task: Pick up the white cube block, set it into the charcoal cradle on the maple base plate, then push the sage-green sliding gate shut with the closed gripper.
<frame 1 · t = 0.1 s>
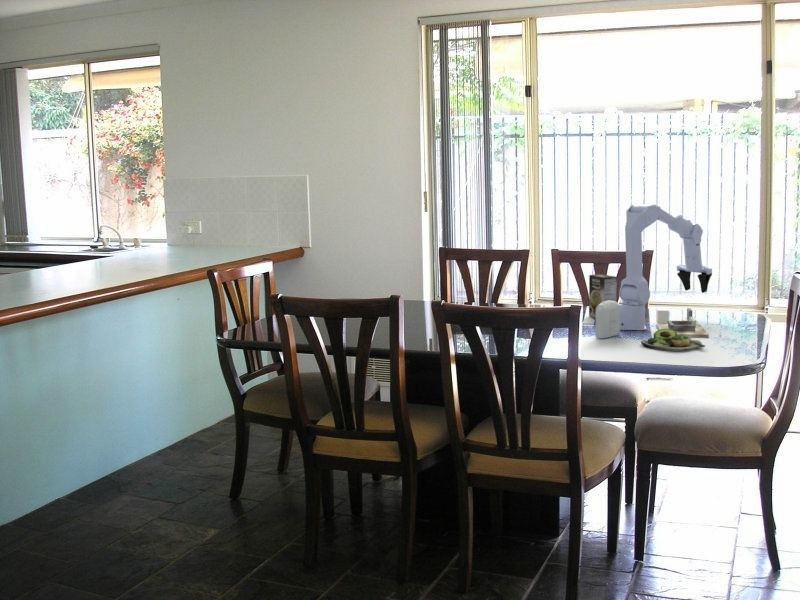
hand: (695, 290, 324), 11 cm above the table, tool pointing down, fingers open, 7 cm apart
coffee box: (602, 317, 333), on the table
beige board: (682, 331, 302), on the table
white cube block: (662, 323, 319), on the table
gate: (691, 317, 311), point 3 cm above the table, slide at 8.0 cm
salad plate: (670, 347, 281), on the table
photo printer: (607, 337, 297), on the table
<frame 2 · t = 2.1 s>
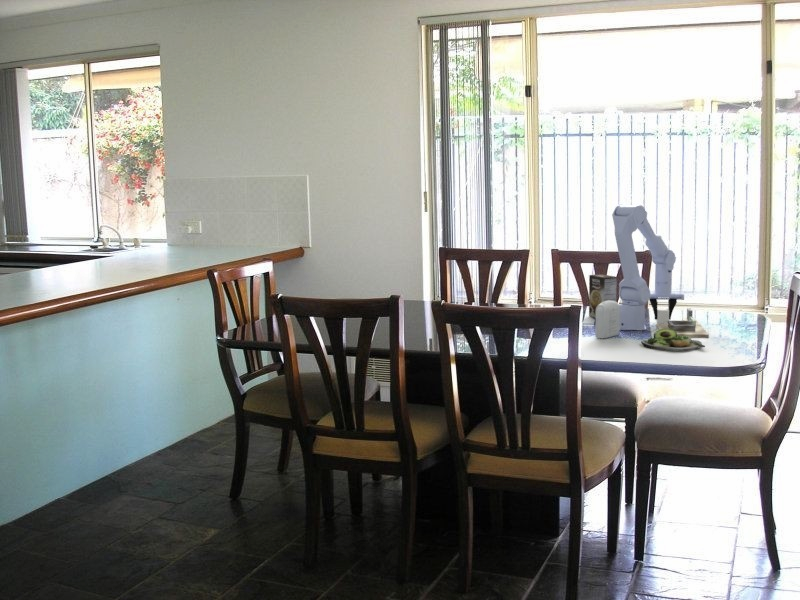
hand: (662, 319, 319), 1 cm above the table, tool pointing down, fingers closed on white cube block, 4 cm apart
white cube block: (662, 323, 319), on the table, touching gripper
everything else where it was.
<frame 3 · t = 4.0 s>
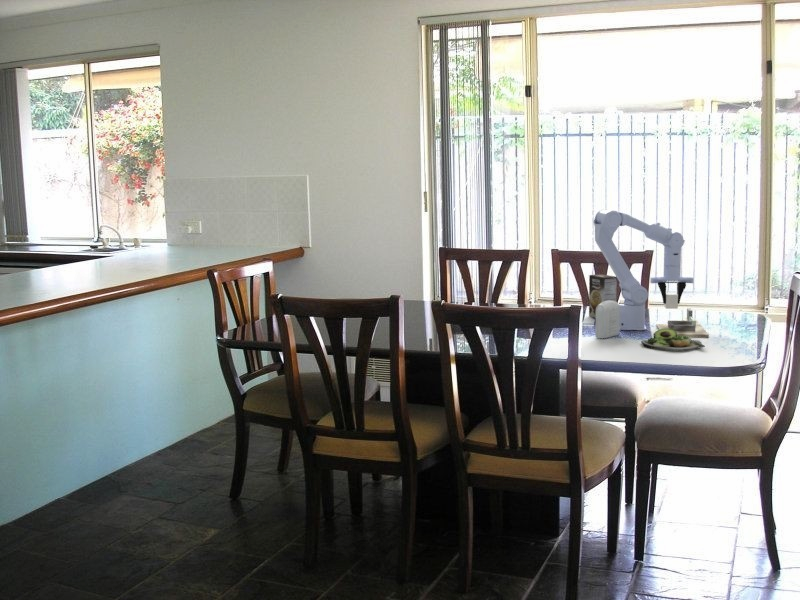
hand: (671, 303, 311), 8 cm above the table, tool pointing down, fingers closed on white cube block, 4 cm apart
white cube block: (670, 307, 311), point 7 cm above the table, touching gripper
everything else where it was.
when the fingers open (4 cm above the table, at t = 5.8 s): white cube block drops 1 cm, resting on beige board.
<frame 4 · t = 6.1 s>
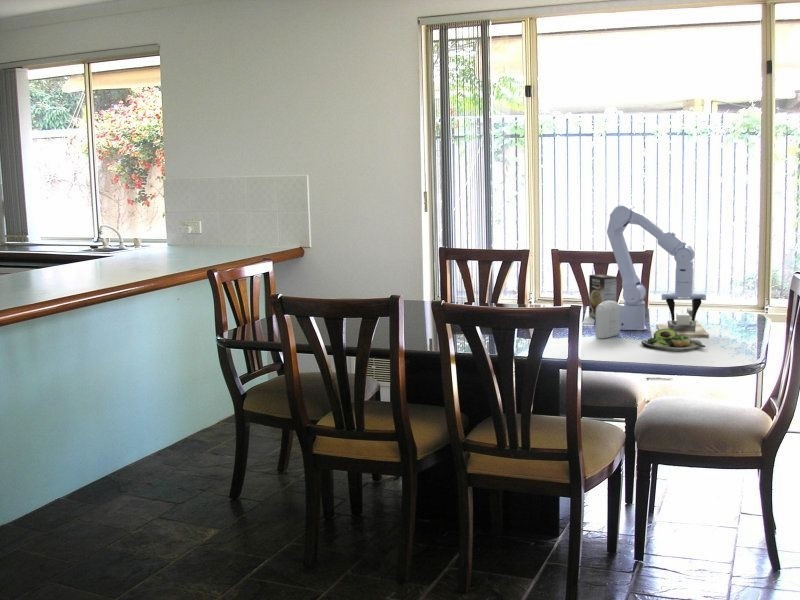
hand: (683, 320, 302), 4 cm above the table, tool pointing down, fingers open, 6 cm apart
white cube block: (682, 328, 303), point 1 cm above the table, touching beige board
everything else where it was.
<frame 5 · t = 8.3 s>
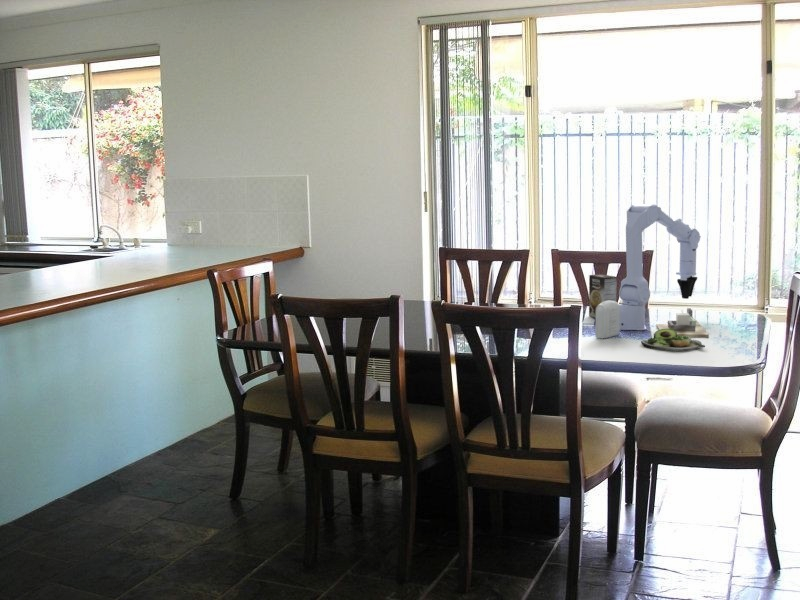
hand: (686, 297, 323), 8 cm above the table, tool pointing down, fingers open, 5 cm apart
nothing on the table moved.
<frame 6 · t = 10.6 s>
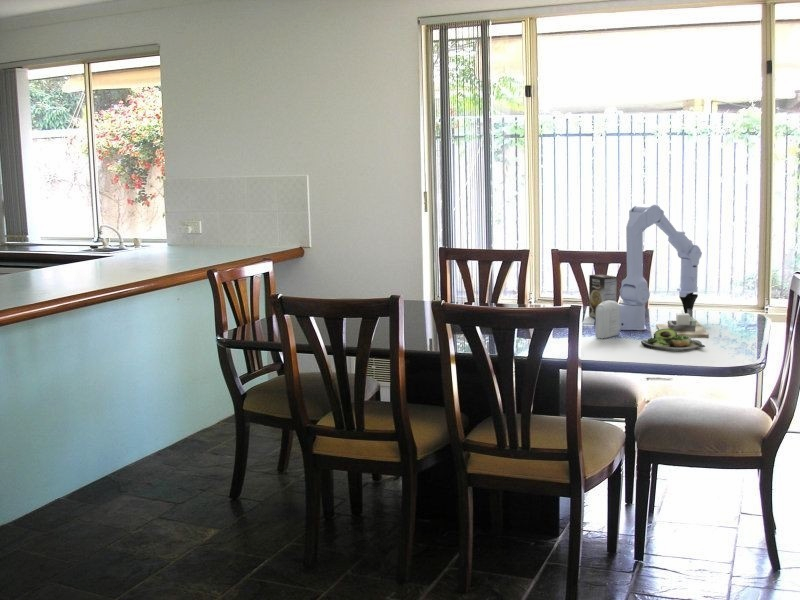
hand: (688, 313, 319), 3 cm above the table, tool pointing down, fingers closed
gate: (691, 317, 311), point 3 cm above the table, slide at 7.6 cm, touching gripper
everything else where it was.
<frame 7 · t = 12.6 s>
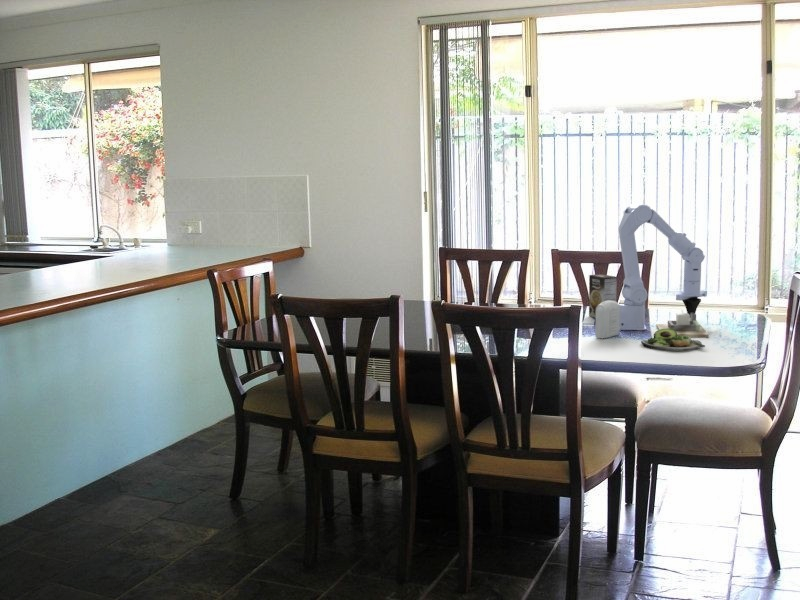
hand: (690, 318, 311), 3 cm above the table, tool pointing down, fingers closed, pressing on gate
gate: (695, 321, 303), point 3 cm above the table, slide at -0.6 cm, touching gripper
everything else where it was.
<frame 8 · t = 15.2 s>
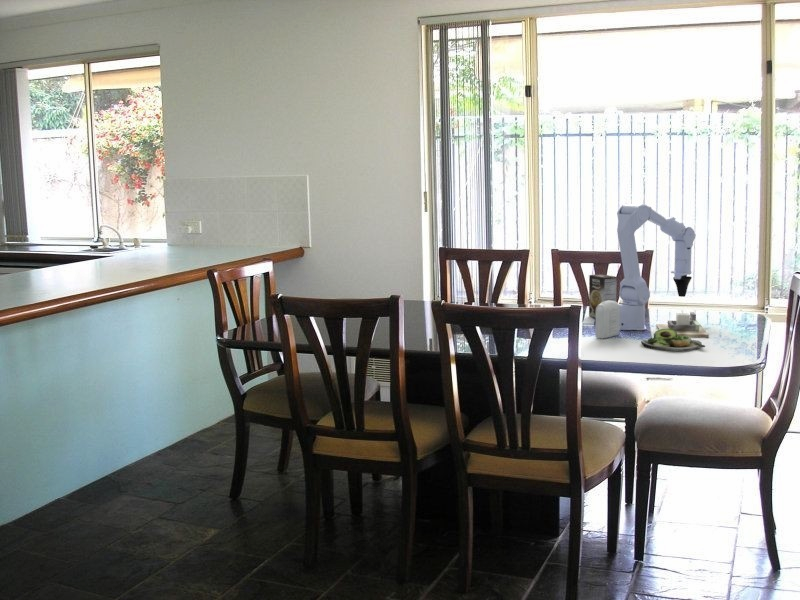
hand: (681, 296, 319), 9 cm above the table, tool pointing down, fingers closed
gate: (694, 321, 303), point 3 cm above the table, slide at 0.0 cm
everything else where it was.
at the end: white cube block 0.5 cm off-centre on the beige board, point 1.0 cm above the beige board's base; white cube block tilted 0°; gate slide at 0.0 cm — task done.
